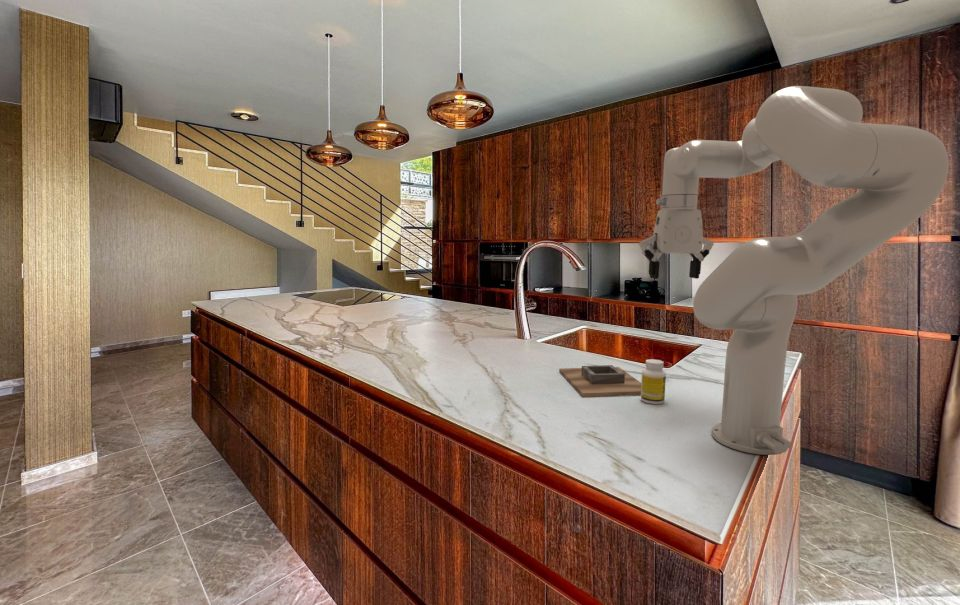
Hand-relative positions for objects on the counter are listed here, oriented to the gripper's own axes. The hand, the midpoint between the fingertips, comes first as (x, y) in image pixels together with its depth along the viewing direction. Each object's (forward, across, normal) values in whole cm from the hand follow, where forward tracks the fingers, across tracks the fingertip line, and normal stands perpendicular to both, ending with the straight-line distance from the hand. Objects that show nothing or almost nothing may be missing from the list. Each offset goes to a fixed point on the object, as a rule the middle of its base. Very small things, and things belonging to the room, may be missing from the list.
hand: (674, 278), depth 106 cm
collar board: (+30, -12, +13) cm, 34 cm away
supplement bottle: (+30, -4, -2) cm, 30 cm away
